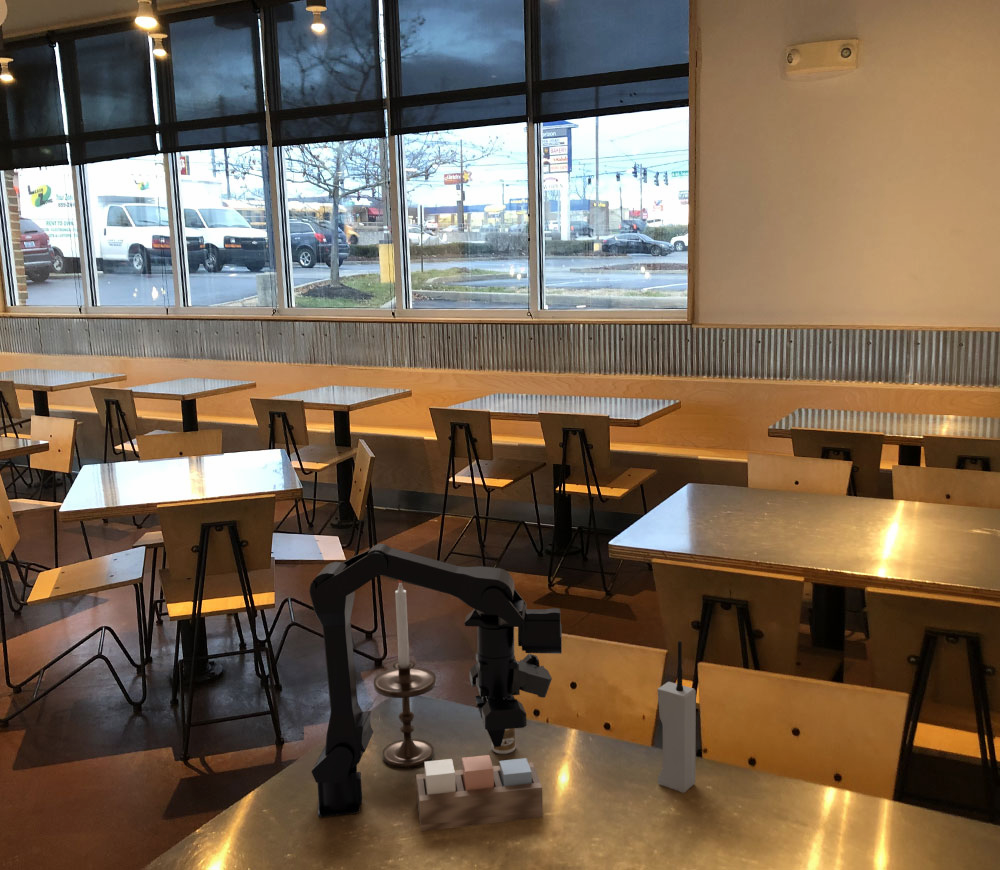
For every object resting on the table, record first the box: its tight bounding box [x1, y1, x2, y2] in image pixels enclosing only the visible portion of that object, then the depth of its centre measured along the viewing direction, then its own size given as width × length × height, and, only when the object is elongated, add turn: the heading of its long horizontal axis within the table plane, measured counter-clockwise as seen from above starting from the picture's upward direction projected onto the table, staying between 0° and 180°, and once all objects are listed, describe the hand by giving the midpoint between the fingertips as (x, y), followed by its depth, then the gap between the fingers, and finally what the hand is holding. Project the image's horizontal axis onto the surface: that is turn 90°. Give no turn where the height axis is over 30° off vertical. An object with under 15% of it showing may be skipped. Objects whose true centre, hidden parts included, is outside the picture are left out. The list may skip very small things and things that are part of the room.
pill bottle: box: [490, 728, 517, 755], centre depth 168 cm, size 4×4×8 cm
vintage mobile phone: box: [657, 640, 697, 794], centre depth 153 cm, size 4×5×25 cm
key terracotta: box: [461, 754, 494, 791], centre depth 148 cm, size 4×4×4 cm
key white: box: [423, 758, 456, 795], centre depth 147 cm, size 4×4×4 cm
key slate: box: [499, 757, 532, 787], centre depth 149 cm, size 4×4×4 cm
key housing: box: [415, 761, 544, 832], centre depth 148 cm, size 19×8×5 cm, turn 99°
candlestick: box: [373, 580, 437, 770], centre depth 164 cm, size 11×11×35 cm
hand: (497, 745), depth 148 cm, fingers closed
